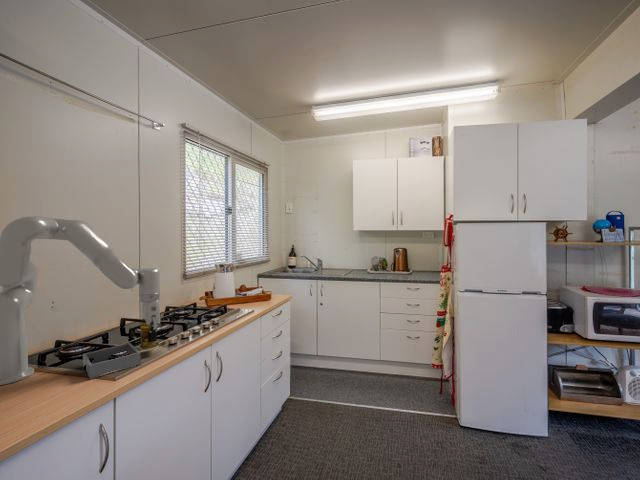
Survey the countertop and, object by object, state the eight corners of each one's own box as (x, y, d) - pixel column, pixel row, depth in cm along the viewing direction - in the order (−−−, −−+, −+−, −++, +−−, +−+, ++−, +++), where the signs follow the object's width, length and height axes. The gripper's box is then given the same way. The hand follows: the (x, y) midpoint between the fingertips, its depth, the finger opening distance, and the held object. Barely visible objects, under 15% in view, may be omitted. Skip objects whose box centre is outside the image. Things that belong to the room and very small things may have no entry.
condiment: (138, 350, 127) (138, 321, 127) (140, 343, 135) (140, 316, 134) (158, 348, 130) (158, 319, 130) (159, 341, 138) (159, 315, 137)
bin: (90, 379, 109) (89, 365, 109) (83, 366, 120) (82, 354, 120) (140, 365, 121) (140, 352, 120) (130, 354, 131) (129, 342, 131)
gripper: (166, 299, 128) (166, 342, 128) (152, 293, 140) (153, 332, 141) (146, 302, 123) (146, 347, 123) (134, 295, 135) (134, 336, 135)
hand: (150, 338), depth 132 cm, fingers closed on condiment, 6 cm apart
